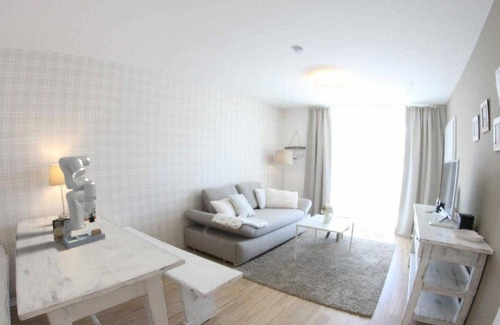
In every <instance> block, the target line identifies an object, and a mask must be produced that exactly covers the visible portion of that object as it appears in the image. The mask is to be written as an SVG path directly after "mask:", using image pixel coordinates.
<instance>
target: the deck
mask: <svg viewBox="0 0 500 325" xmlns="http://www.w3.org/2000/svg"><path fill="white" fill-rule="evenodd" d="M104 239H105V240H106V233H105V232H102V231H101V234H100V235H97V236H92V234H91V231H89V232H86V233H82V234H78V235H75V236H74V235H72V237H69V238H65V237H64V238H63V242H62V243H63V244H64V246H65V247H66V248H67V249H68V250H70V249H74V248H77V247H80V246H84V245H89V244H91V243H95V242H98V241H102V240H104Z"/></svg>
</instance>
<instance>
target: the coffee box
mask: <svg viewBox="0 0 500 325" xmlns="http://www.w3.org/2000/svg"><path fill="white" fill-rule="evenodd" d="M51 221H52V222H51V225H52V234H53V242H54V243H63V238H64V237H65V238H69V237H73V234H72V230H71V220H70V218H69V217H59V218H56V219H53V220H51Z"/></svg>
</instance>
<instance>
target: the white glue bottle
mask: <svg viewBox="0 0 500 325" xmlns="http://www.w3.org/2000/svg"><path fill="white" fill-rule="evenodd" d="M79 203H80V204H81V205H82V207H83V217H84V221H89V215H88V214H87V213H86V212H85V201H84V200H82V201H79ZM94 215H95V216H94V218H95V219H97V212H96V213H94Z"/></svg>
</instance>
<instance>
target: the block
mask: <svg viewBox="0 0 500 325" xmlns="http://www.w3.org/2000/svg"><path fill="white" fill-rule="evenodd" d="M90 232H91V234H92V236H97V235H100V234H101V232H102V229H100V228H95V229H91V230H90Z"/></svg>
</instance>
